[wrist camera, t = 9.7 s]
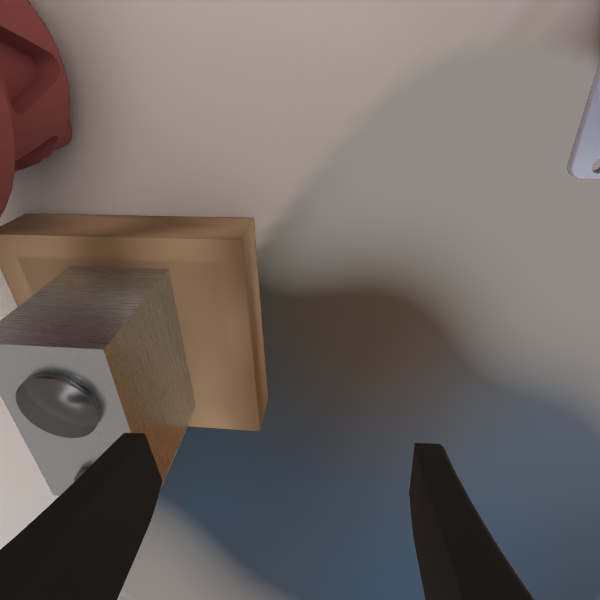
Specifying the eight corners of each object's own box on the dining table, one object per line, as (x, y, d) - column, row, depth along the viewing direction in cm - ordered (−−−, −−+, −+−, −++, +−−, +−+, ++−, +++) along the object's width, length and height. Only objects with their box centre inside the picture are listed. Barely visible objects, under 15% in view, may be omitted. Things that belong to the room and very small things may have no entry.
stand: (253, 218, 19) (241, 240, 17) (267, 397, 24) (260, 431, 22) (24, 213, 20) (-14, 234, 18) (89, 386, 25) (66, 418, 23)
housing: (196, 405, 22) (151, 510, 17) (115, 400, 22) (49, 501, 17) (168, 268, 18) (98, 355, 13) (70, 265, 18) (-35, 348, 13)
